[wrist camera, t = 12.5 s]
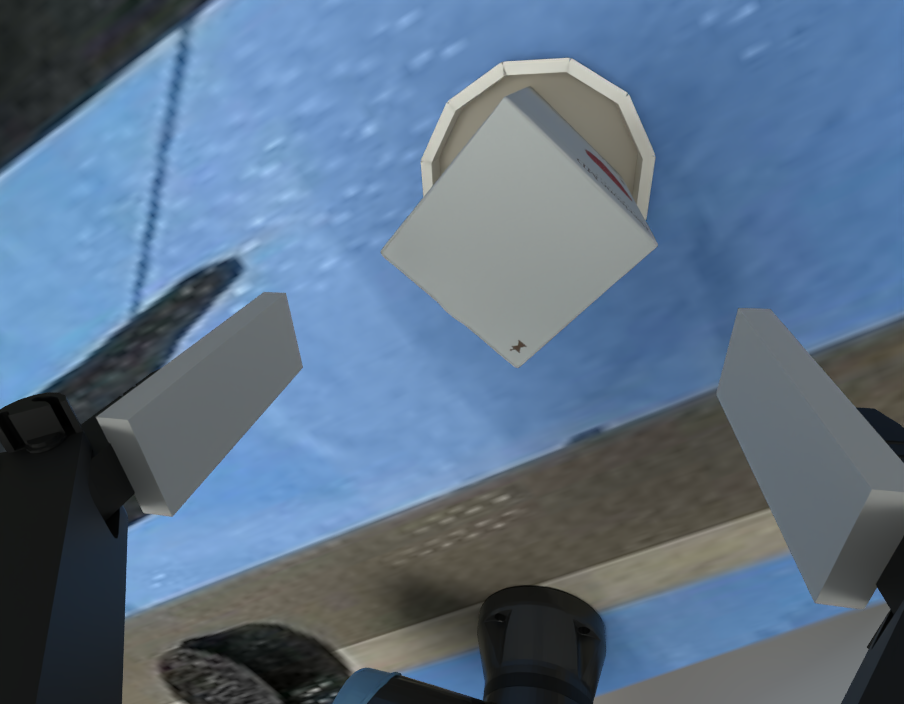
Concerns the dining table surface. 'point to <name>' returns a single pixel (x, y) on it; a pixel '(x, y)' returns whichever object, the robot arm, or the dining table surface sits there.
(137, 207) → the dining table surface
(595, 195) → the supplement box
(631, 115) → the bowl
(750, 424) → the robot arm
